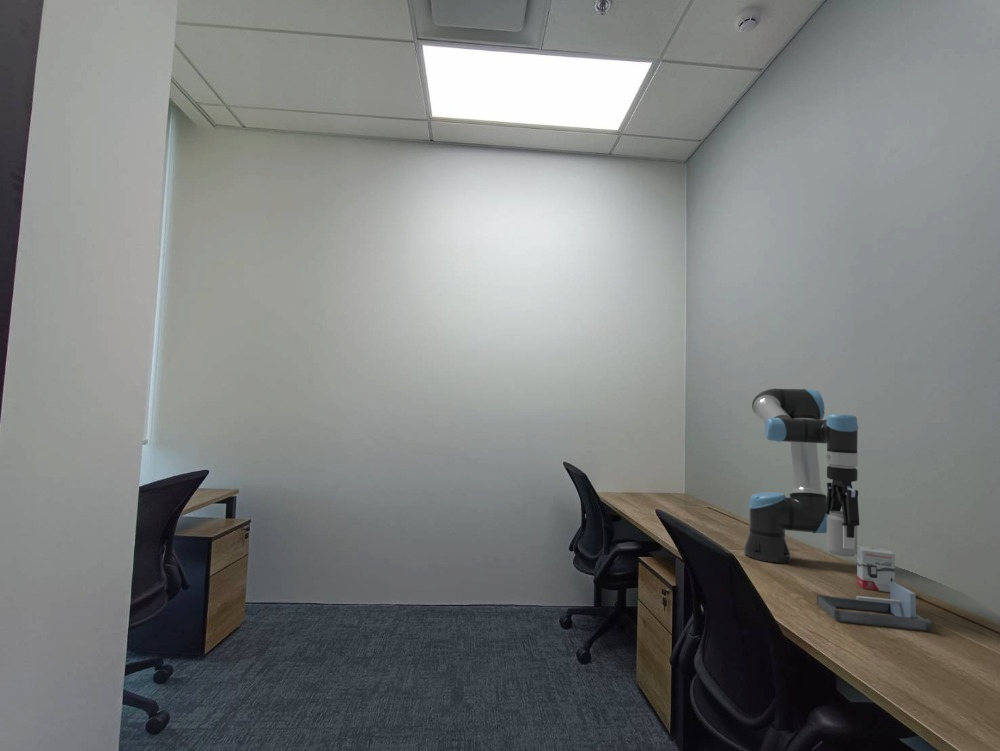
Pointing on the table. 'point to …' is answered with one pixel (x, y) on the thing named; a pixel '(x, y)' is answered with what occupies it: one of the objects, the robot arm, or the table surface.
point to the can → (838, 535)
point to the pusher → (897, 601)
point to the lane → (868, 618)
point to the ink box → (875, 568)
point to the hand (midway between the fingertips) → (841, 544)
